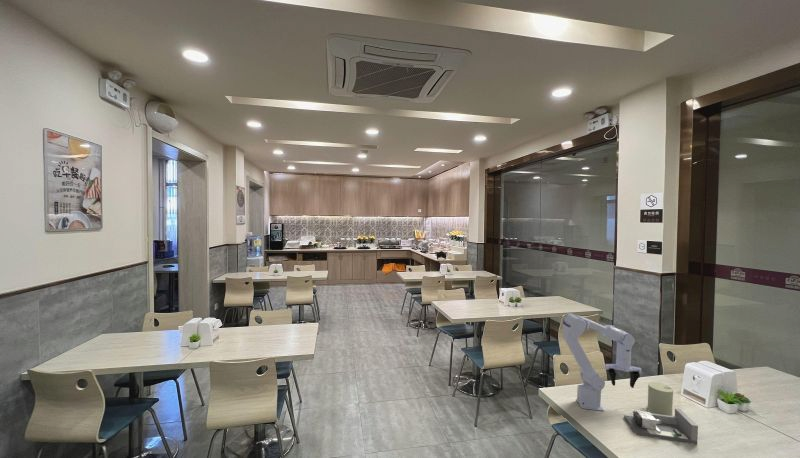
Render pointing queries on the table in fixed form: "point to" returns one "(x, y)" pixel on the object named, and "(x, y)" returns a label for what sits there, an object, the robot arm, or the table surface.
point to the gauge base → (668, 427)
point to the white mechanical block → (646, 420)
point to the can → (660, 399)
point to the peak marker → (677, 432)
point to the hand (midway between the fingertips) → (622, 385)
